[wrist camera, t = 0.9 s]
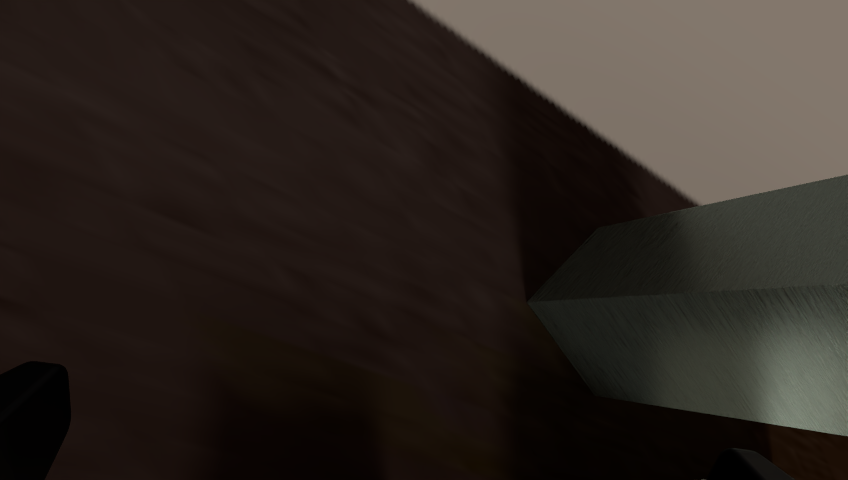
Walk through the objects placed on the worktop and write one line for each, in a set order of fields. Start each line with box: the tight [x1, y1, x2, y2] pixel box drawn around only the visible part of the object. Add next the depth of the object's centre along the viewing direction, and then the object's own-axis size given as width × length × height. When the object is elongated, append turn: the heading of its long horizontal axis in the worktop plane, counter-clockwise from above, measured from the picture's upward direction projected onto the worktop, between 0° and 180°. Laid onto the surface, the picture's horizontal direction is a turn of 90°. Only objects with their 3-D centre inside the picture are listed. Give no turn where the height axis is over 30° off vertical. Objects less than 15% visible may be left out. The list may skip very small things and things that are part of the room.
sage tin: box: [527, 175, 848, 436], centre depth 19 cm, size 5×5×12 cm
